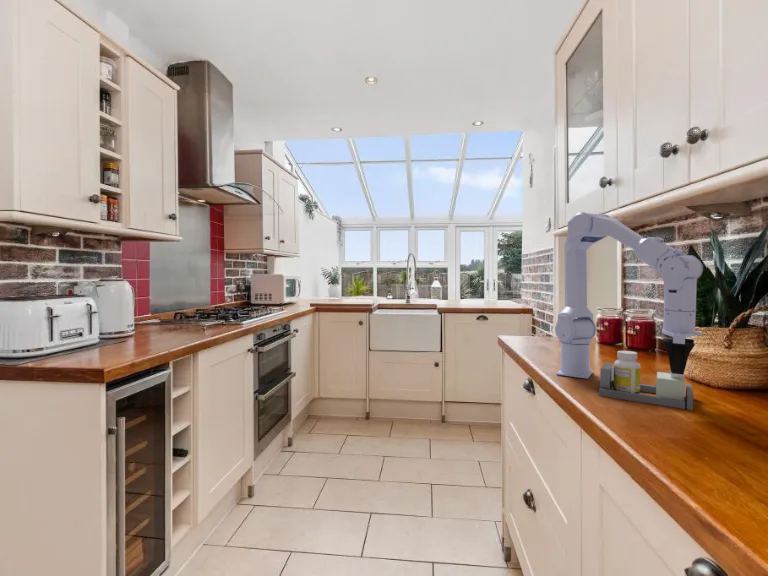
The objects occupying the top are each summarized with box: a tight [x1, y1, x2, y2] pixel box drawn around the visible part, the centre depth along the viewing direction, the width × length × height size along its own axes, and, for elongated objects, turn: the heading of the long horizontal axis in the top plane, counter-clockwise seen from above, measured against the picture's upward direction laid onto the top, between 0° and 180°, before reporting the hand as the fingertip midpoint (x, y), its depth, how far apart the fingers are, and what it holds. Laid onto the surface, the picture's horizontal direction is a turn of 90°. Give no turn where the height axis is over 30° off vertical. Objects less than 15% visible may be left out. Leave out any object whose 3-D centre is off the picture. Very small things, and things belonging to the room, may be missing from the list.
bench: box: [598, 362, 694, 411], centre depth 95 cm, size 11×17×6 cm, turn 55°
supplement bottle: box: [613, 350, 642, 394], centre depth 97 cm, size 5×5×10 cm
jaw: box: [655, 371, 686, 401], centre depth 92 cm, size 7×5×10 cm
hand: (677, 372), depth 92 cm, fingers closed on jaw, 2 cm apart
